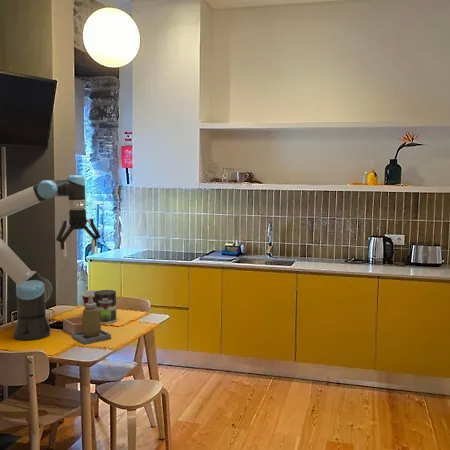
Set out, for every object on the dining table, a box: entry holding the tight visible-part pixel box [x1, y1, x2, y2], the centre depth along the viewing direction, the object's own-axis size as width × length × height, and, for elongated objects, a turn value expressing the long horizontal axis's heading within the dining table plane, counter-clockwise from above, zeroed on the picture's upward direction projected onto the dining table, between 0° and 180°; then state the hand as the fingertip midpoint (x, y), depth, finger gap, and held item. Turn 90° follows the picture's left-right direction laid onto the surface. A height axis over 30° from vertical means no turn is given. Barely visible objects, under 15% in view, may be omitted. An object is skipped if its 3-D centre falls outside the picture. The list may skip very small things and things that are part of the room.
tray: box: [71, 328, 112, 345], centre depth 240 cm, size 12×12×2 cm
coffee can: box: [94, 289, 117, 325], centre depth 267 cm, size 10×10×14 cm
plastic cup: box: [80, 289, 99, 307], centre depth 276 cm, size 11×11×12 cm
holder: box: [62, 315, 102, 335], centre depth 252 cm, size 12×12×5 cm
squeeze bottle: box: [82, 295, 102, 338], centre depth 239 cm, size 8×8×18 cm
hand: (79, 255), depth 257 cm, fingers open, 13 cm apart
